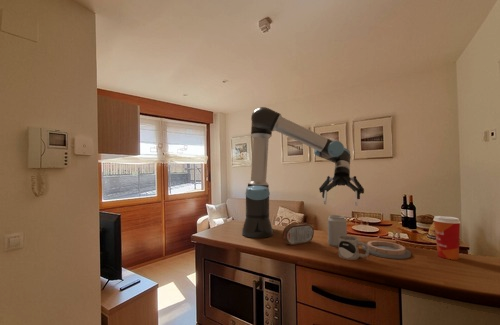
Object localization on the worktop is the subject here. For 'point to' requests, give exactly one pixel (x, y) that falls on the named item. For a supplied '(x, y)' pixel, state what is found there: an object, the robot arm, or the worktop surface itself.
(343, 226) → the can
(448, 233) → the paper cup
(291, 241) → the tin
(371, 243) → the coaster
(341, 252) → the mug
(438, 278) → the worktop surface
